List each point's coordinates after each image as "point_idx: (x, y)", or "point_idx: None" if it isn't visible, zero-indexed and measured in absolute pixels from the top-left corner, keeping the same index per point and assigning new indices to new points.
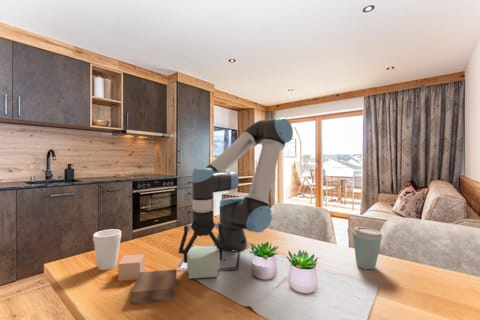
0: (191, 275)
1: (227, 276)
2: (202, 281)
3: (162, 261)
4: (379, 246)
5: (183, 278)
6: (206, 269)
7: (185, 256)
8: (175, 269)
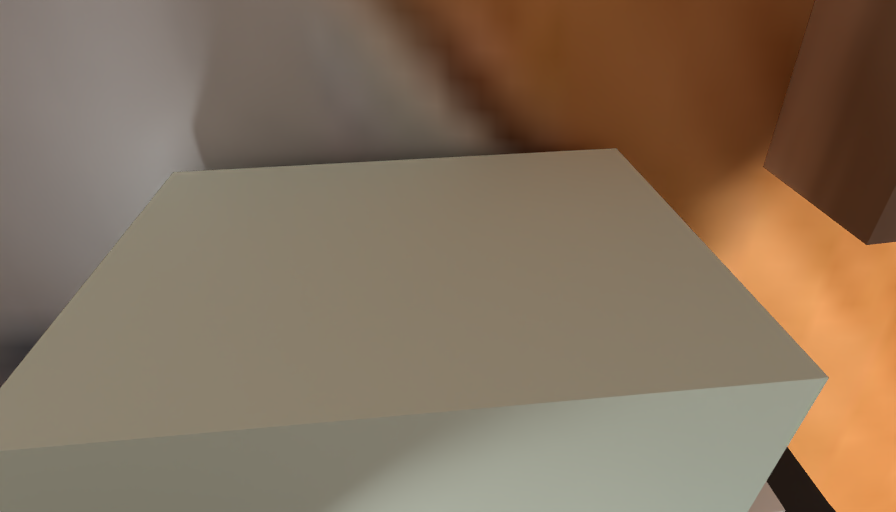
0: (589, 169)
1: (45, 208)
2: (406, 92)
3: (807, 471)
4: None
5: (669, 187)
6: (339, 226)
7: (781, 482)
8: (882, 242)
